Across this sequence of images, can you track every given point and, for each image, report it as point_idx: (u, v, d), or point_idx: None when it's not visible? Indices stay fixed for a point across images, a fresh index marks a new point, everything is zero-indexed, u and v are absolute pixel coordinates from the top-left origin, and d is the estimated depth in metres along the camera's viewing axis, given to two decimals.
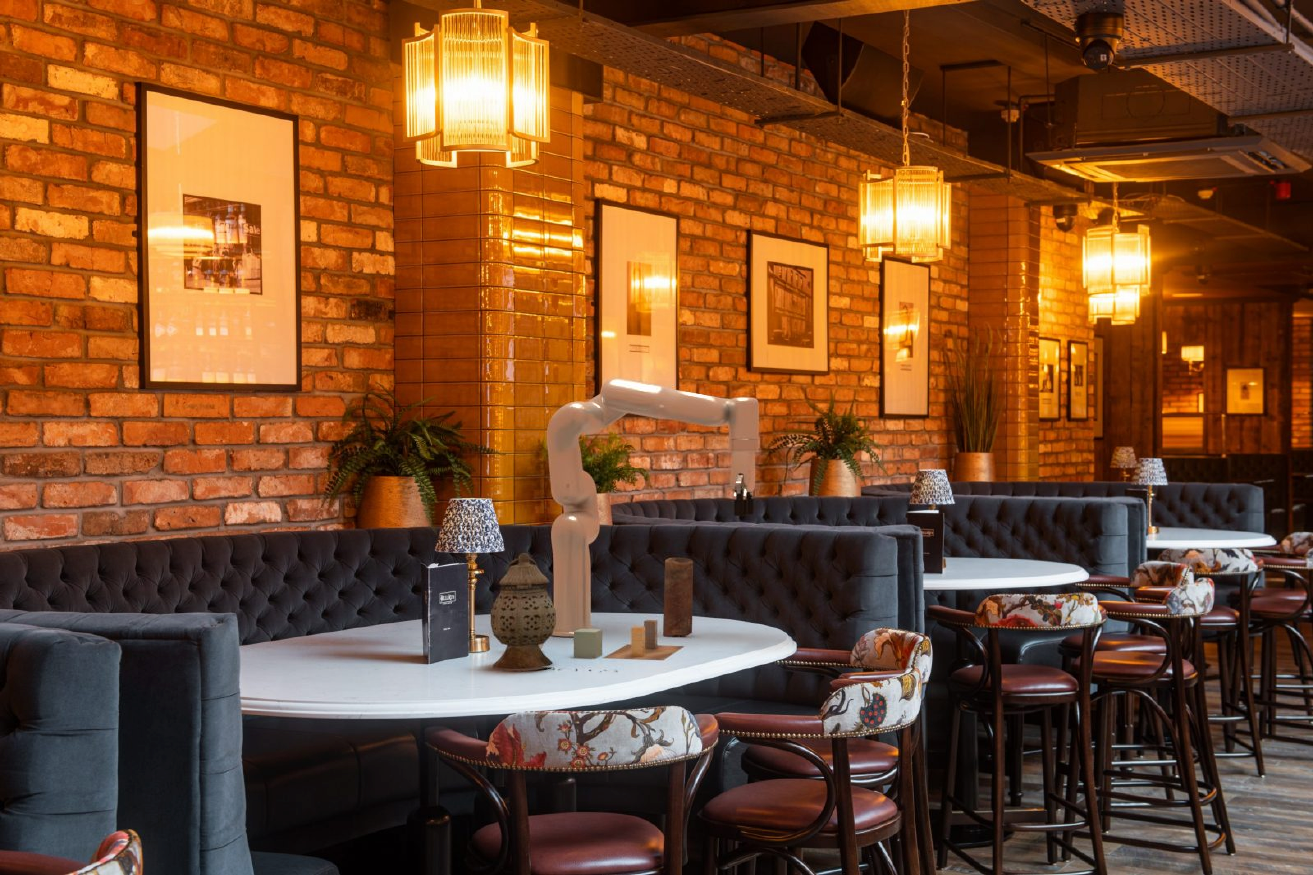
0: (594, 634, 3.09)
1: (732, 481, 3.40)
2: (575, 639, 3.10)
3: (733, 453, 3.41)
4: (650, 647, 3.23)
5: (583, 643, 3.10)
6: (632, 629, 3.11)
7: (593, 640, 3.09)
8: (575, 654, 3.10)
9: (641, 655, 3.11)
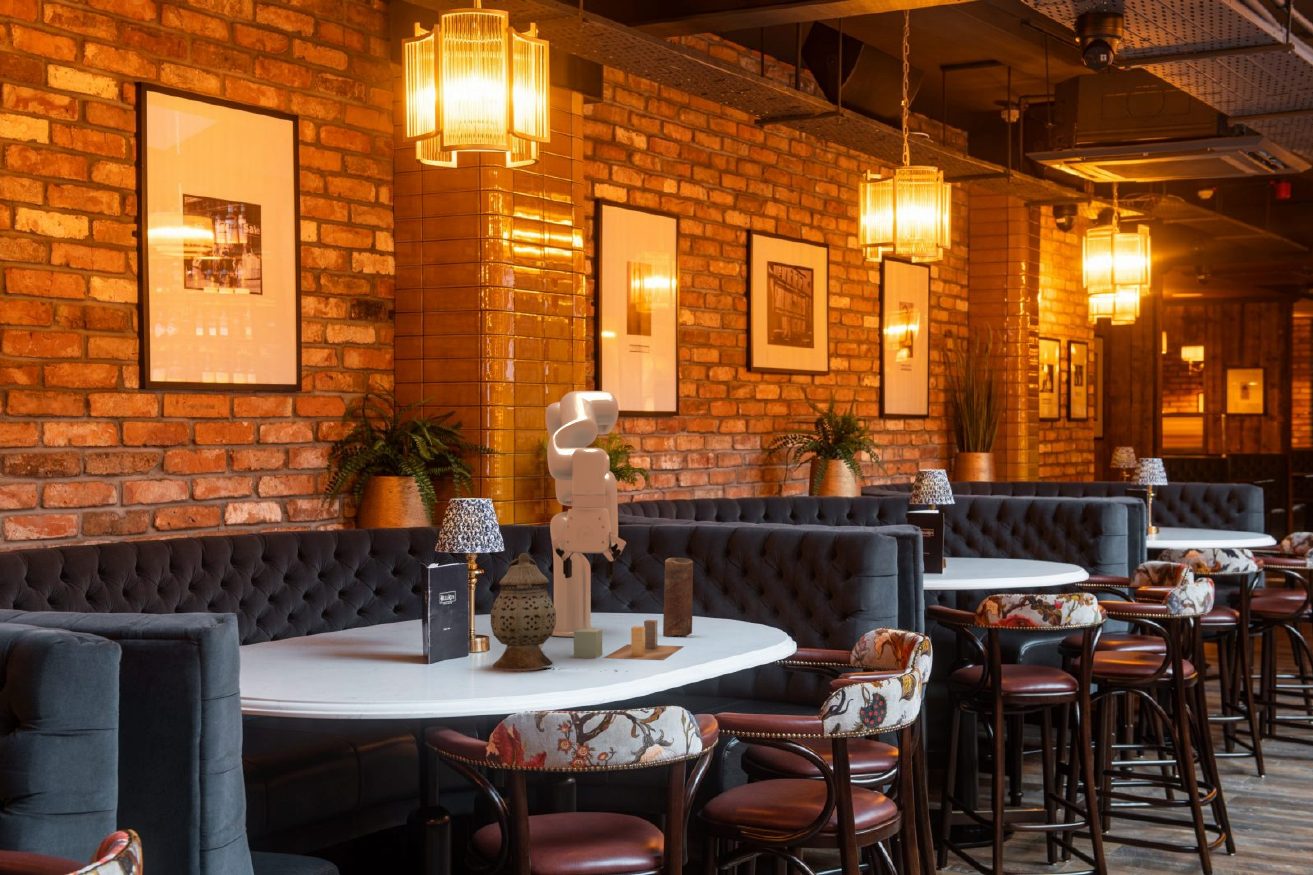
0: (594, 634, 3.09)
1: (607, 541, 3.09)
2: (575, 639, 3.10)
3: (603, 510, 3.10)
4: (650, 647, 3.23)
5: (583, 643, 3.10)
6: (632, 629, 3.11)
7: (593, 640, 3.09)
8: (575, 654, 3.10)
9: (641, 655, 3.11)
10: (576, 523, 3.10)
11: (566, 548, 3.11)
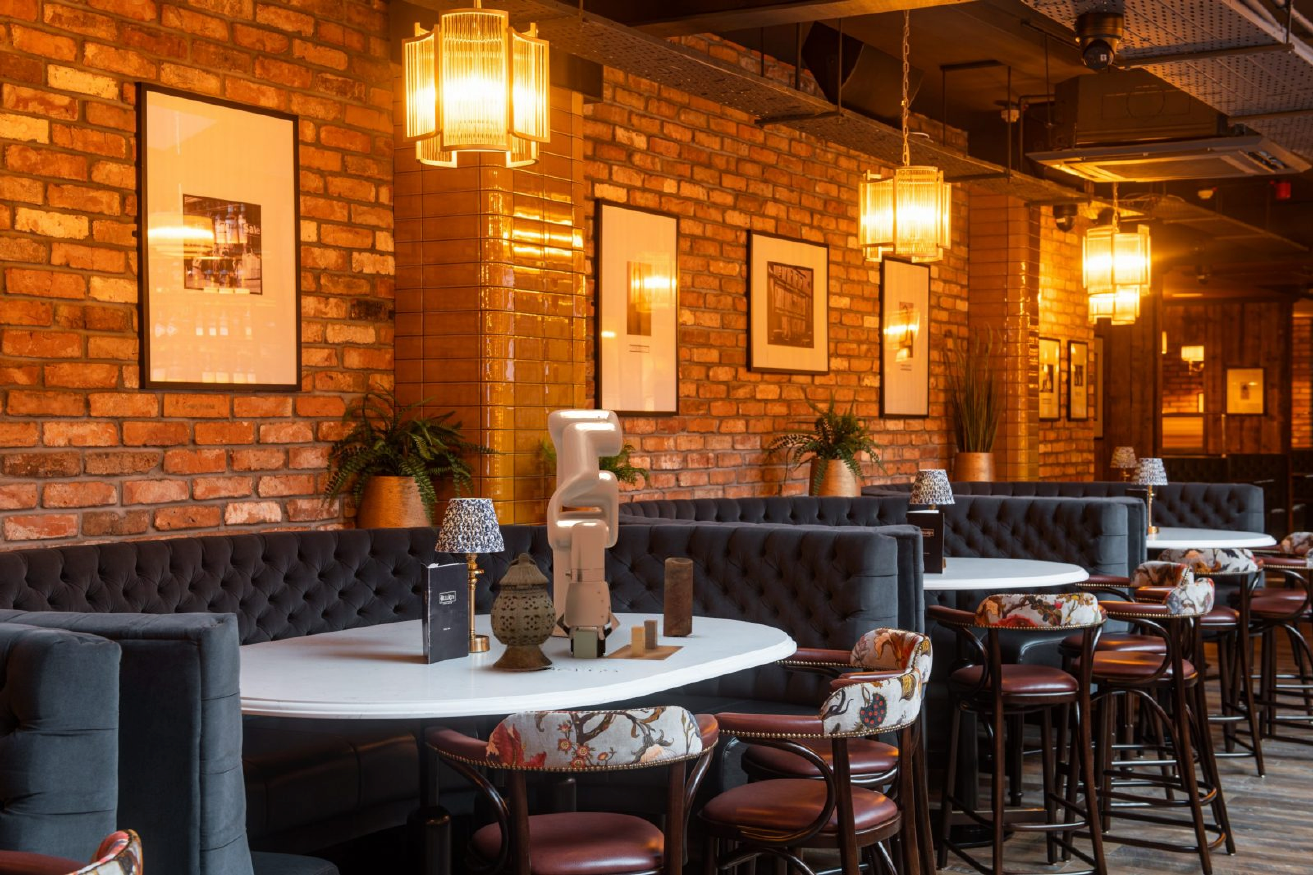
0: (594, 634, 3.09)
1: (606, 615, 3.09)
2: (575, 639, 3.10)
3: (603, 584, 3.09)
4: (650, 647, 3.23)
5: (583, 643, 3.10)
6: (632, 629, 3.11)
7: (593, 640, 3.09)
8: (575, 654, 3.10)
9: (641, 655, 3.11)
10: (575, 596, 3.10)
11: (565, 622, 3.11)
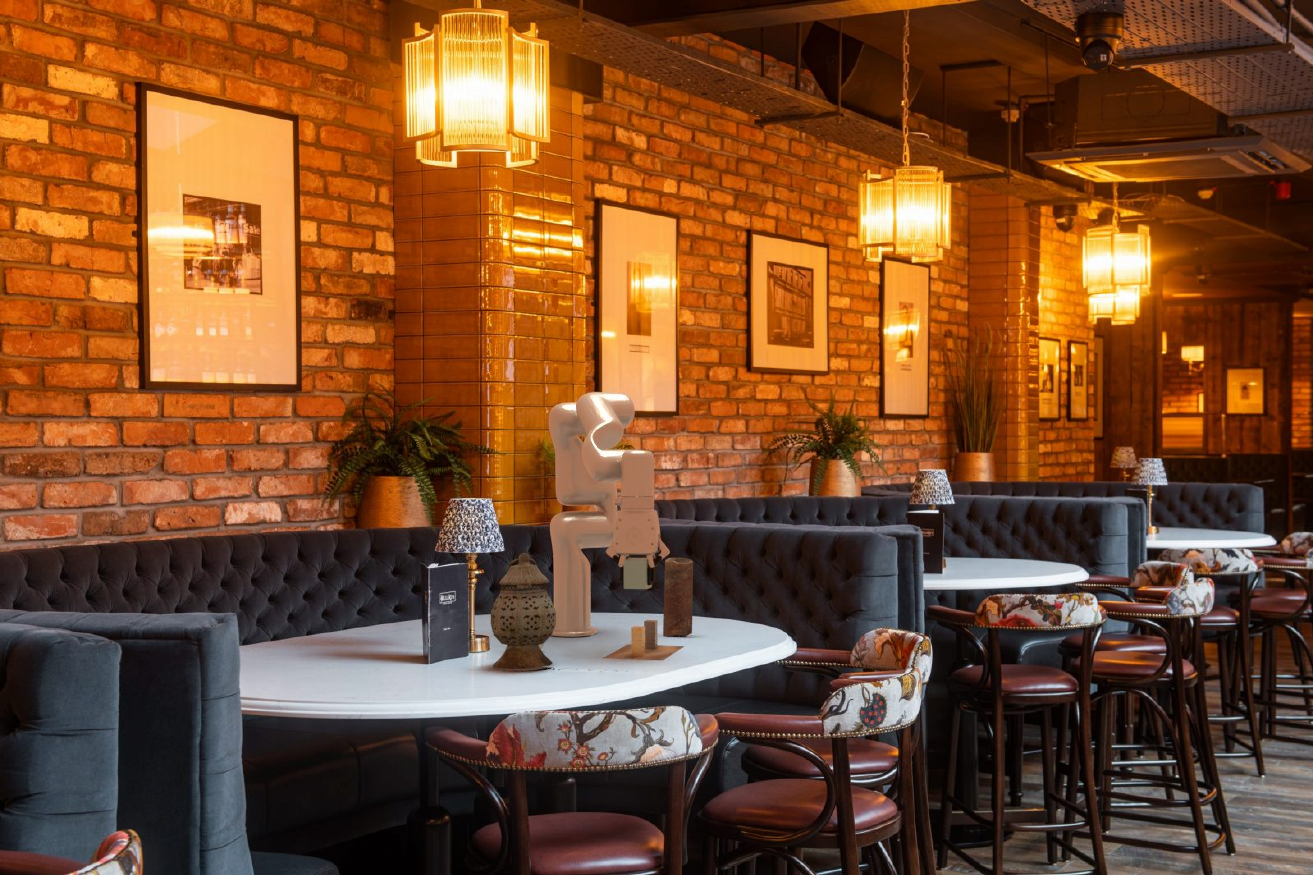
0: (644, 562, 3.09)
1: (657, 543, 3.09)
2: (625, 567, 3.10)
3: (653, 512, 3.10)
4: (650, 647, 3.23)
5: (633, 571, 3.10)
6: (632, 629, 3.11)
7: (643, 568, 3.09)
8: (625, 582, 3.10)
9: (641, 655, 3.11)
10: (625, 524, 3.10)
11: (615, 550, 3.11)
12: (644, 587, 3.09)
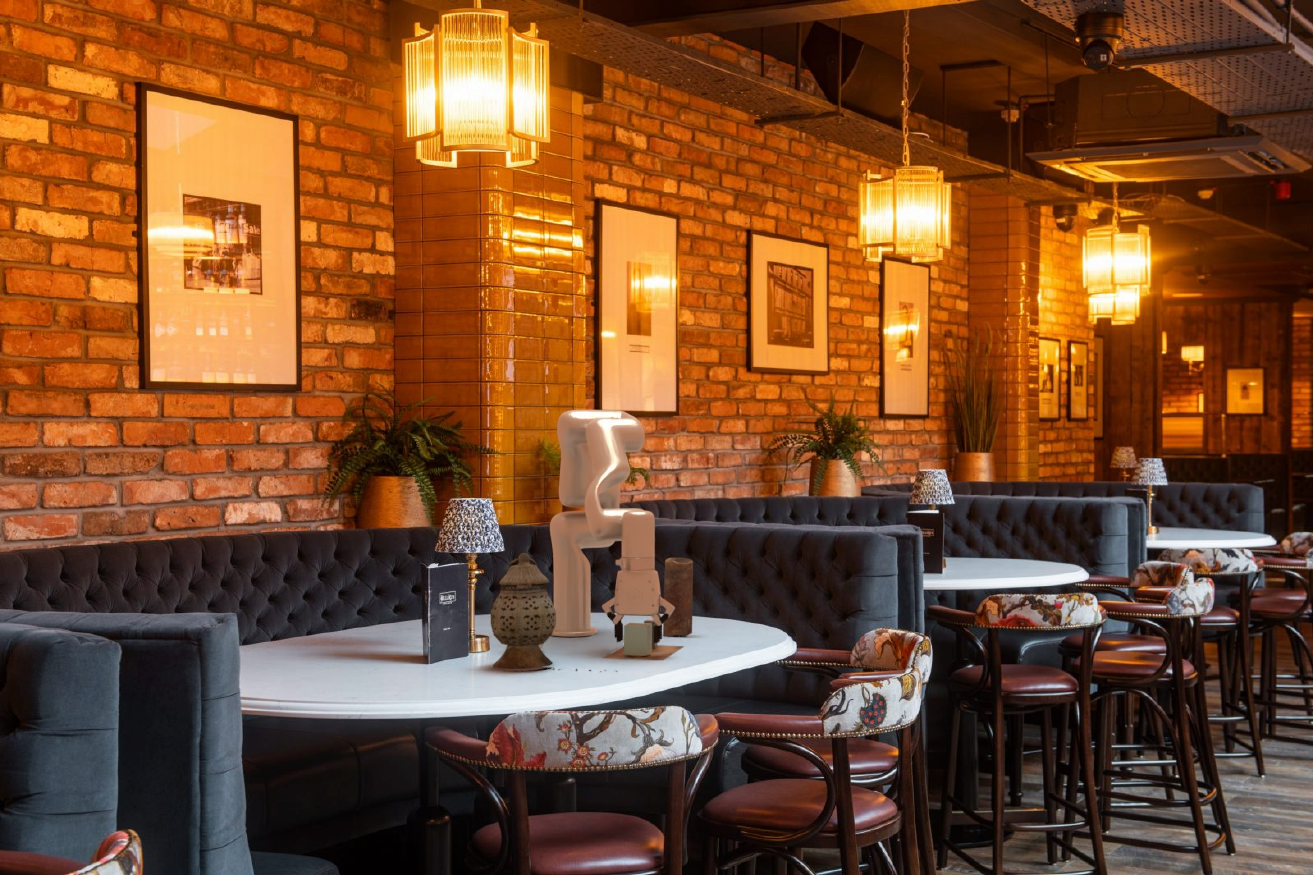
0: (645, 628, 3.09)
1: (657, 604, 3.09)
2: (625, 633, 3.10)
3: (653, 573, 3.10)
4: None
5: (634, 637, 3.10)
6: None
7: (644, 634, 3.09)
8: (625, 648, 3.10)
9: (641, 655, 3.11)
10: (625, 585, 3.10)
11: (616, 610, 3.11)
12: (644, 653, 3.09)
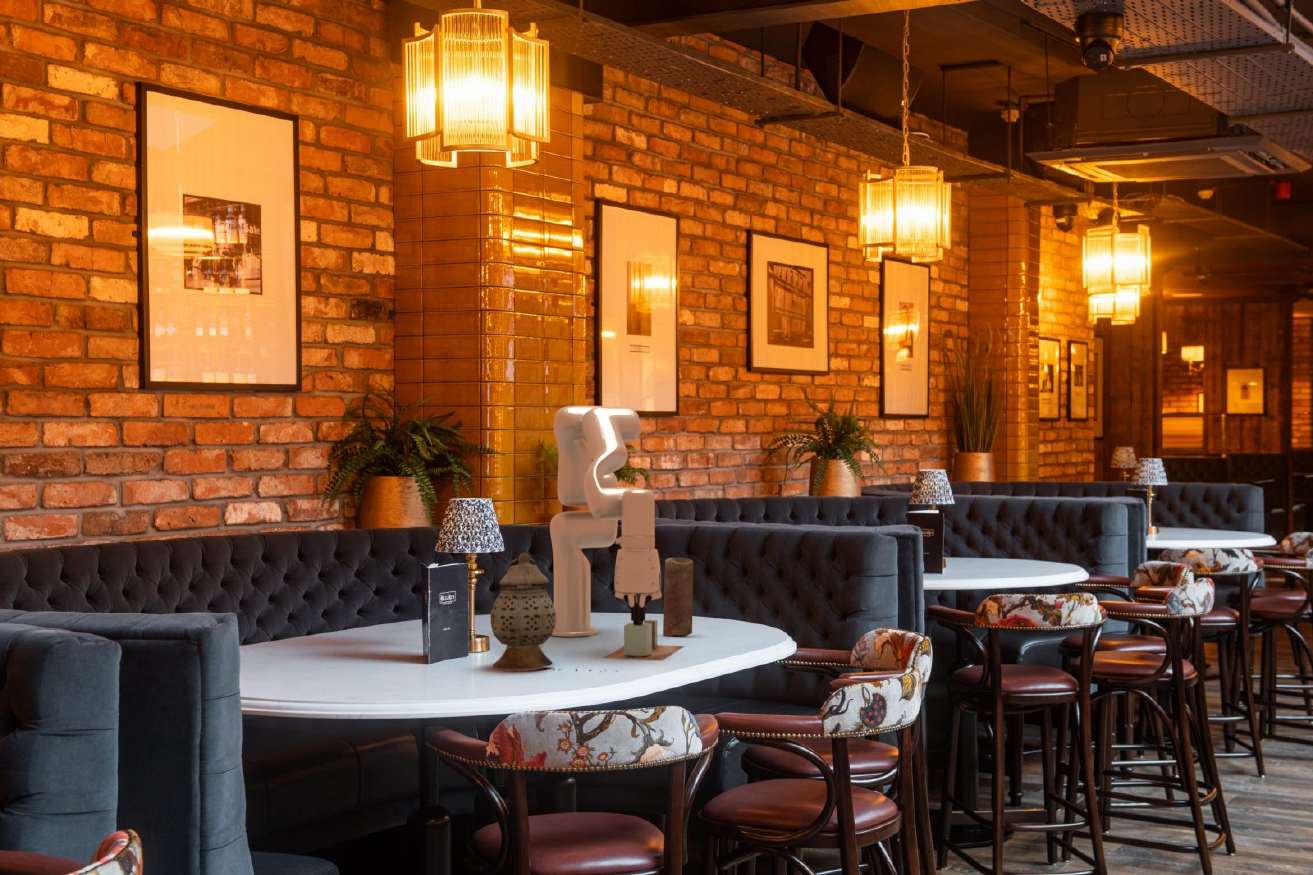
0: (645, 628, 3.09)
1: (657, 582, 3.09)
2: (625, 633, 3.10)
3: (653, 551, 3.10)
4: None
5: (634, 637, 3.10)
6: None
7: (644, 634, 3.09)
8: (625, 648, 3.10)
9: (641, 655, 3.11)
10: (625, 564, 3.10)
11: (616, 589, 3.11)
12: (644, 653, 3.09)
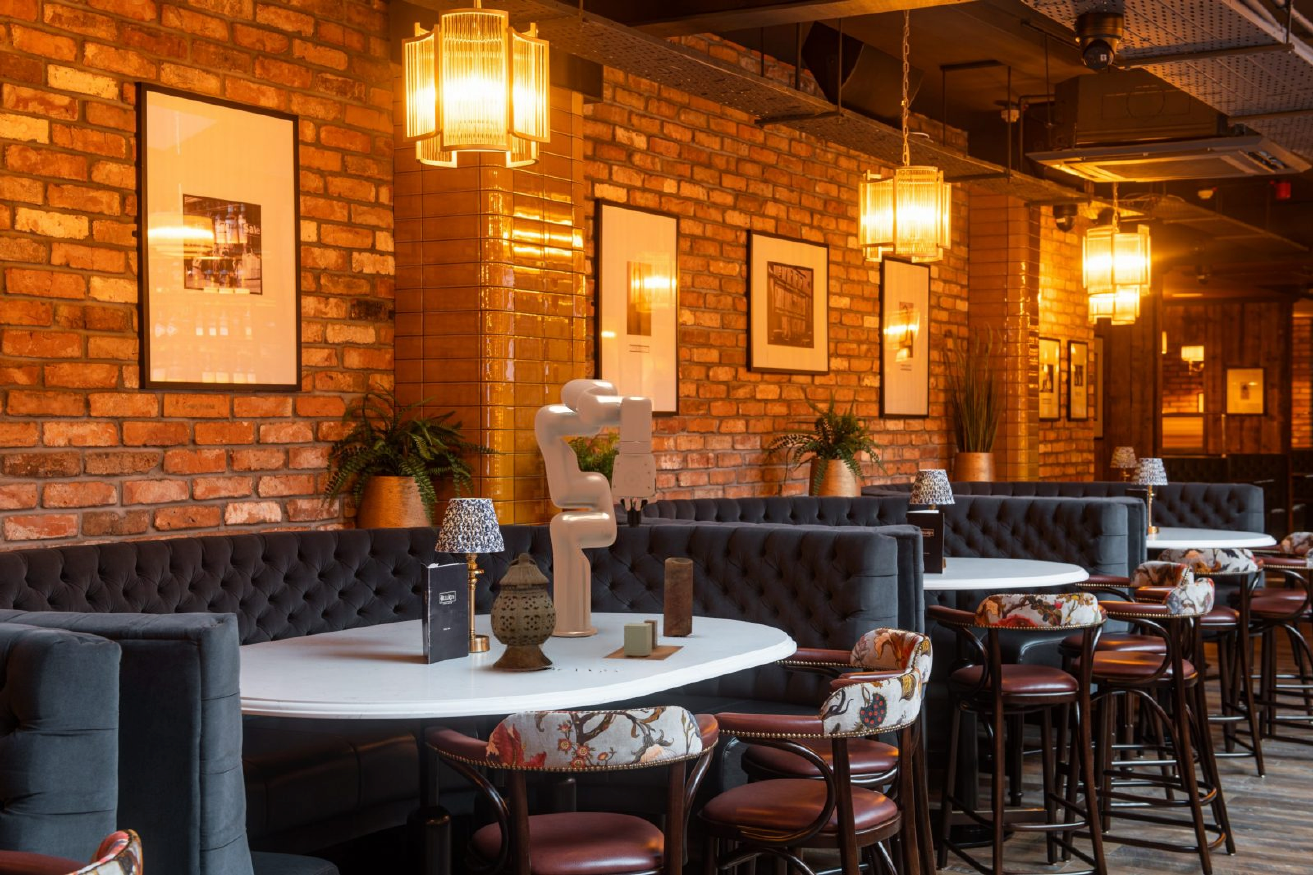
0: (645, 628, 3.09)
1: (653, 487, 3.19)
2: (625, 633, 3.10)
3: (650, 457, 3.20)
4: None
5: (634, 637, 3.10)
6: None
7: (644, 634, 3.09)
8: (625, 648, 3.10)
9: (641, 655, 3.11)
10: (622, 468, 3.20)
11: (613, 492, 3.21)
12: (644, 653, 3.09)
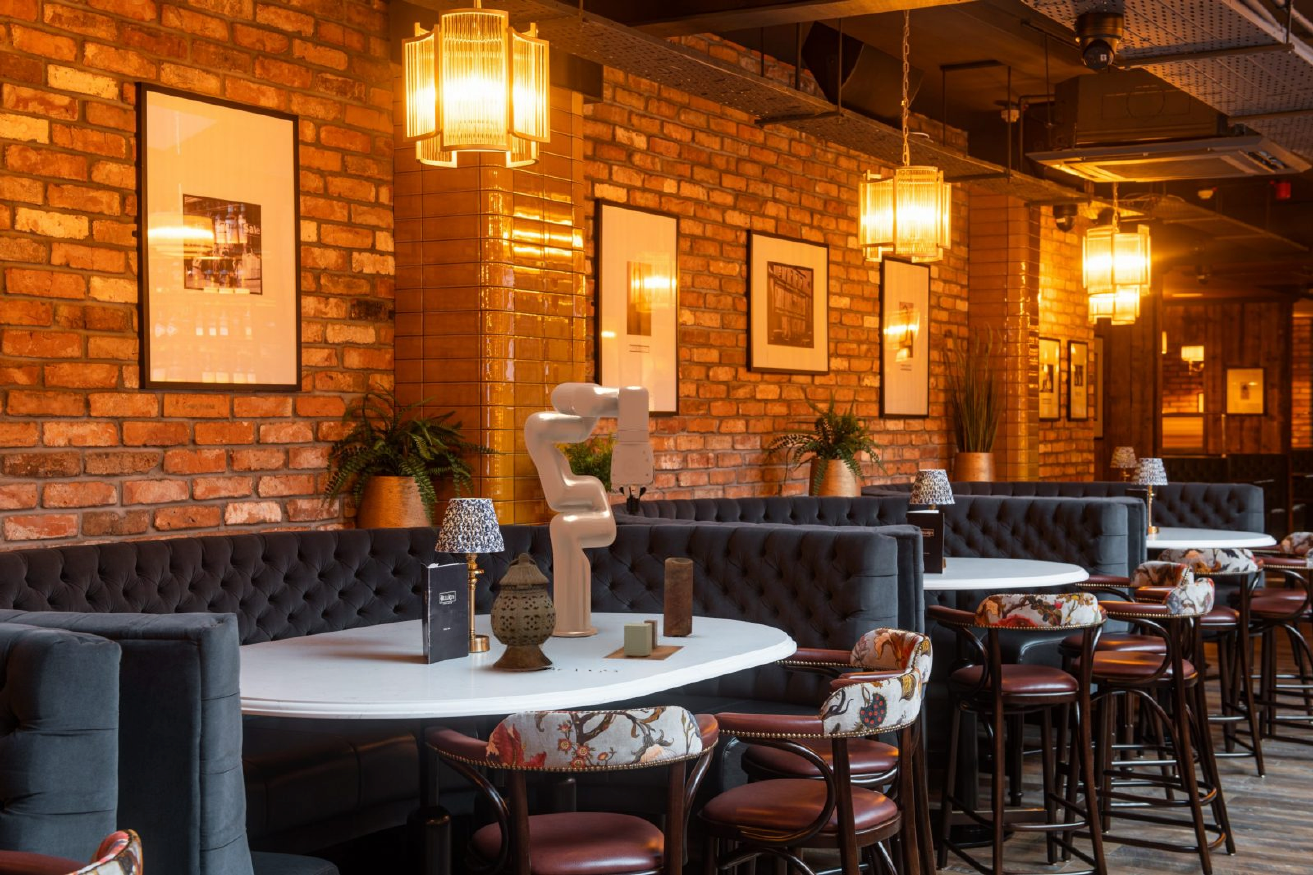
0: (645, 628, 3.09)
1: (651, 474, 3.25)
2: (625, 633, 3.10)
3: (648, 445, 3.26)
4: None
5: (634, 637, 3.10)
6: None
7: (644, 634, 3.09)
8: (625, 648, 3.10)
9: (641, 655, 3.11)
10: (621, 456, 3.26)
11: (612, 481, 3.27)
12: (644, 653, 3.09)
